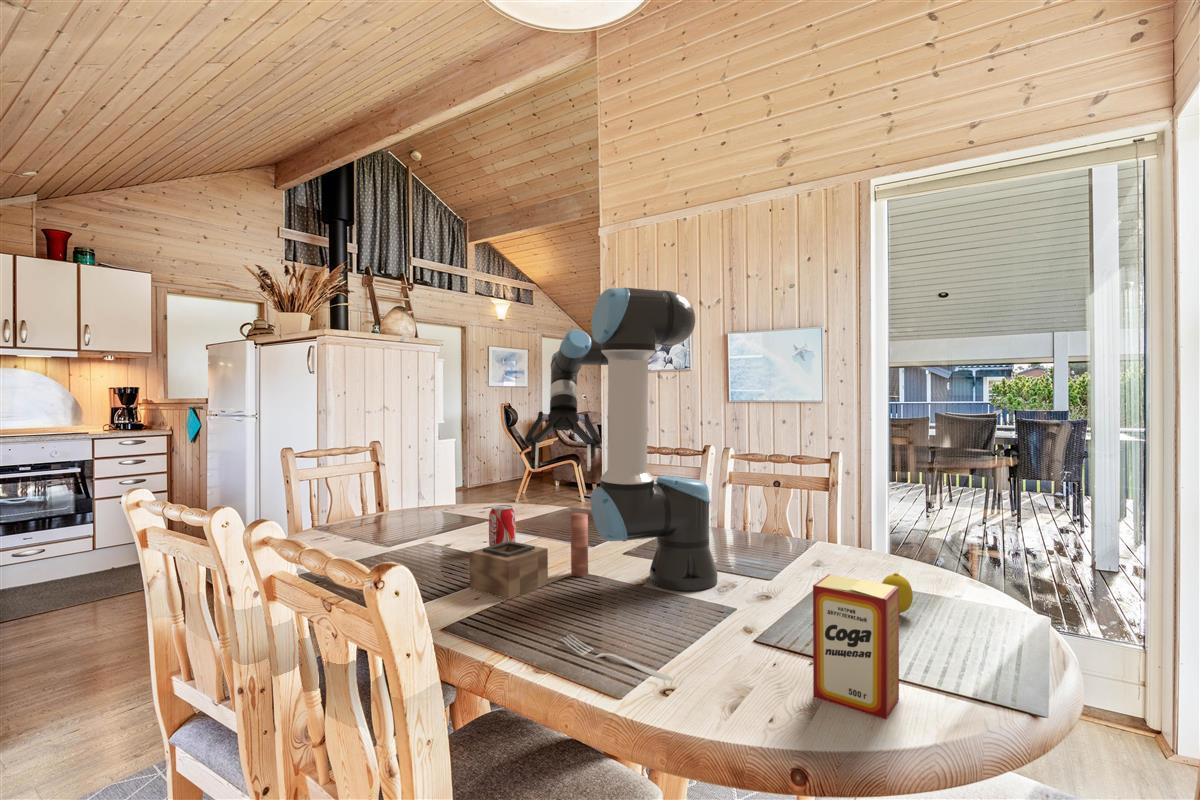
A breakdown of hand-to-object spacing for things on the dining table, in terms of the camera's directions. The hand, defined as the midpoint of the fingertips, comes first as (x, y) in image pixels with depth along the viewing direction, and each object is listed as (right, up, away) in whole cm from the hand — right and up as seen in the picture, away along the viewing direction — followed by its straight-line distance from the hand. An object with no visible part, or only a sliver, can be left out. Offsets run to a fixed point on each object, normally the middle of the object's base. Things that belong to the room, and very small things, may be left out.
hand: (562, 468), depth 156 cm
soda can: (-17, -23, +7) cm, 29 cm away
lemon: (+66, -23, -42) cm, 81 cm away
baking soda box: (+45, -24, -72) cm, 89 cm away
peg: (+5, -23, -15) cm, 28 cm away
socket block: (-10, -23, -23) cm, 35 cm away
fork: (+13, -24, -61) cm, 67 cm away
